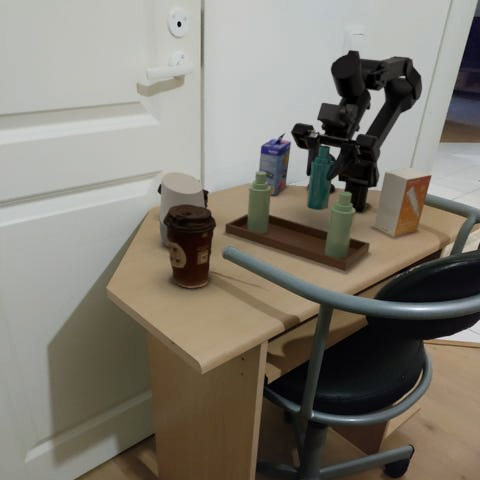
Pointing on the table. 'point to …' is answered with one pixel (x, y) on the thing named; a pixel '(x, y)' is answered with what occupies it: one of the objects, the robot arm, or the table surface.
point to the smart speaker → (178, 195)
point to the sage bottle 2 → (340, 227)
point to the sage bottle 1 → (259, 204)
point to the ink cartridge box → (275, 163)
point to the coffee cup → (189, 243)
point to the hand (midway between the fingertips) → (317, 177)
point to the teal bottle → (320, 180)
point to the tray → (298, 241)
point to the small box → (402, 200)
